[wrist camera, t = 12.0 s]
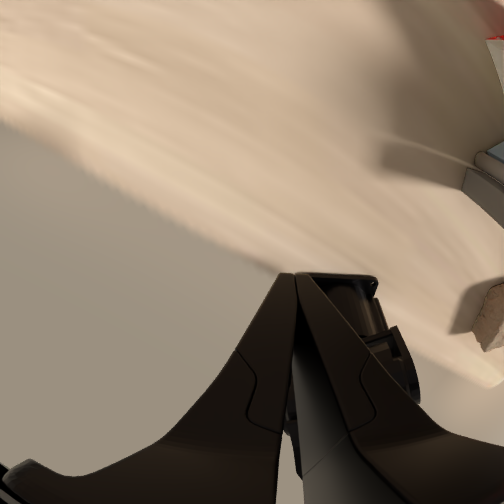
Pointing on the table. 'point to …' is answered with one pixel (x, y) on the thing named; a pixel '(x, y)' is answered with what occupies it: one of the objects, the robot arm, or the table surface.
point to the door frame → (485, 193)
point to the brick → (491, 320)
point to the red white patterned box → (497, 55)
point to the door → (492, 162)
